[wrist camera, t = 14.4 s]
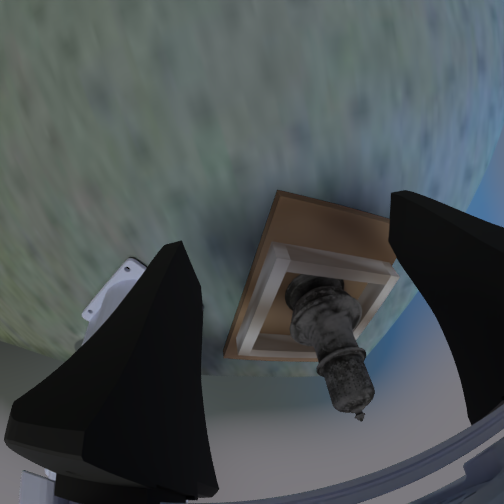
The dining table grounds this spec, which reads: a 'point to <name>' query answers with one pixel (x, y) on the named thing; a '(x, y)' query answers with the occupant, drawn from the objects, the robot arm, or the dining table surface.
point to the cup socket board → (309, 272)
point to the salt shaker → (331, 338)
